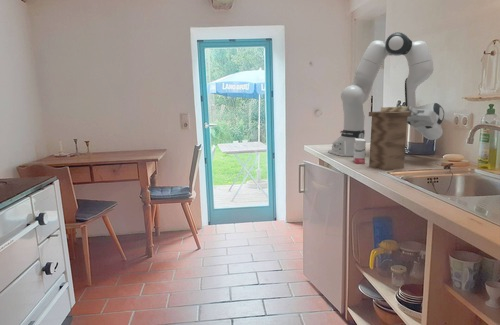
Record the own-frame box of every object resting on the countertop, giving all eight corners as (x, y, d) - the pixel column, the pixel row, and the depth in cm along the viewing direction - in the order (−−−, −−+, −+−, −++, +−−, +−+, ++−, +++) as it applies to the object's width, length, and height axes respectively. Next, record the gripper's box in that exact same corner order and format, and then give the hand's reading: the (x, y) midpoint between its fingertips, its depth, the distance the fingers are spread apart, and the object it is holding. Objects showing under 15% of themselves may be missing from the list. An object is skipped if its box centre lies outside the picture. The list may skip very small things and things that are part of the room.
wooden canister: (365, 166, 168) (368, 111, 163) (385, 163, 175) (389, 111, 170) (386, 171, 158) (390, 112, 153) (406, 167, 165) (411, 111, 160)
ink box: (364, 163, 175) (366, 140, 173) (354, 163, 176) (355, 140, 174) (363, 160, 183) (364, 138, 181) (353, 160, 184) (354, 138, 182)
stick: (384, 112, 158) (384, 107, 158) (380, 111, 160) (380, 107, 159) (412, 110, 168) (412, 106, 167) (408, 110, 170) (409, 106, 169)
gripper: (404, 114, 183) (390, 101, 176) (442, 116, 165) (428, 101, 158) (399, 125, 182) (385, 112, 175) (437, 128, 165) (422, 114, 158)
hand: (405, 107), depth 167 cm, fingers closed on stick, 2 cm apart
